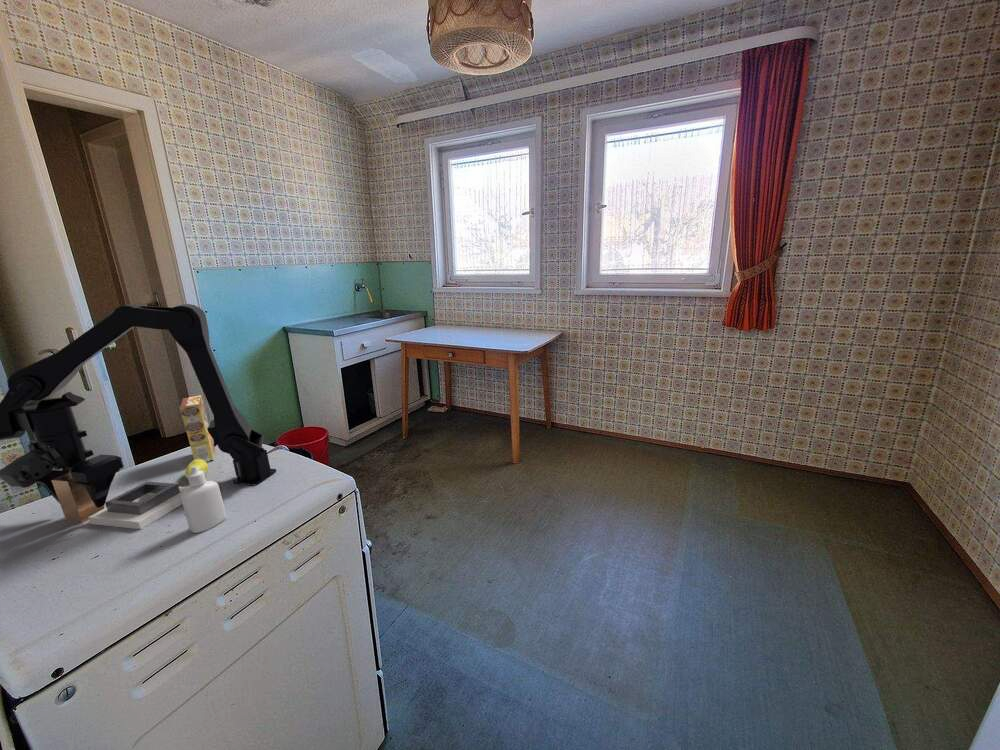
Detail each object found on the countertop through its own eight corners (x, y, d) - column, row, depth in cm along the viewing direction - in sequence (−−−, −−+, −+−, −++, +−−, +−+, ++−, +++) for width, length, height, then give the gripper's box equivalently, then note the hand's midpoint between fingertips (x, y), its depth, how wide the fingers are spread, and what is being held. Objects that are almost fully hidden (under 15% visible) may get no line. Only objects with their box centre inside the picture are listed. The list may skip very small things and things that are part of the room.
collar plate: (198, 494, 87) (194, 479, 86) (140, 529, 76) (135, 512, 75) (152, 490, 90) (148, 476, 89) (90, 523, 78) (84, 507, 77)
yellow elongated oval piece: (182, 486, 91) (178, 470, 90) (193, 470, 98) (189, 456, 97) (204, 482, 93) (200, 466, 92) (213, 467, 100) (209, 452, 99)
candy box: (214, 460, 103) (200, 403, 99) (194, 465, 101) (178, 407, 97) (215, 448, 110) (202, 394, 106) (196, 453, 108) (181, 397, 104)
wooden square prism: (105, 511, 83) (91, 470, 80) (82, 523, 79) (67, 481, 76) (90, 509, 83) (76, 469, 81) (66, 521, 80) (51, 480, 77)
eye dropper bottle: (192, 523, 77) (176, 466, 74) (227, 514, 80) (213, 458, 76) (188, 536, 73) (171, 476, 70) (225, 525, 76) (211, 467, 73)
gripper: (-42, 447, 71) (-9, 526, 75) (39, 452, 67) (70, 535, 71) (39, 423, 81) (64, 493, 85) (113, 426, 77) (136, 499, 81)
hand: (82, 504), depth 80 cm, fingers open, 9 cm apart
